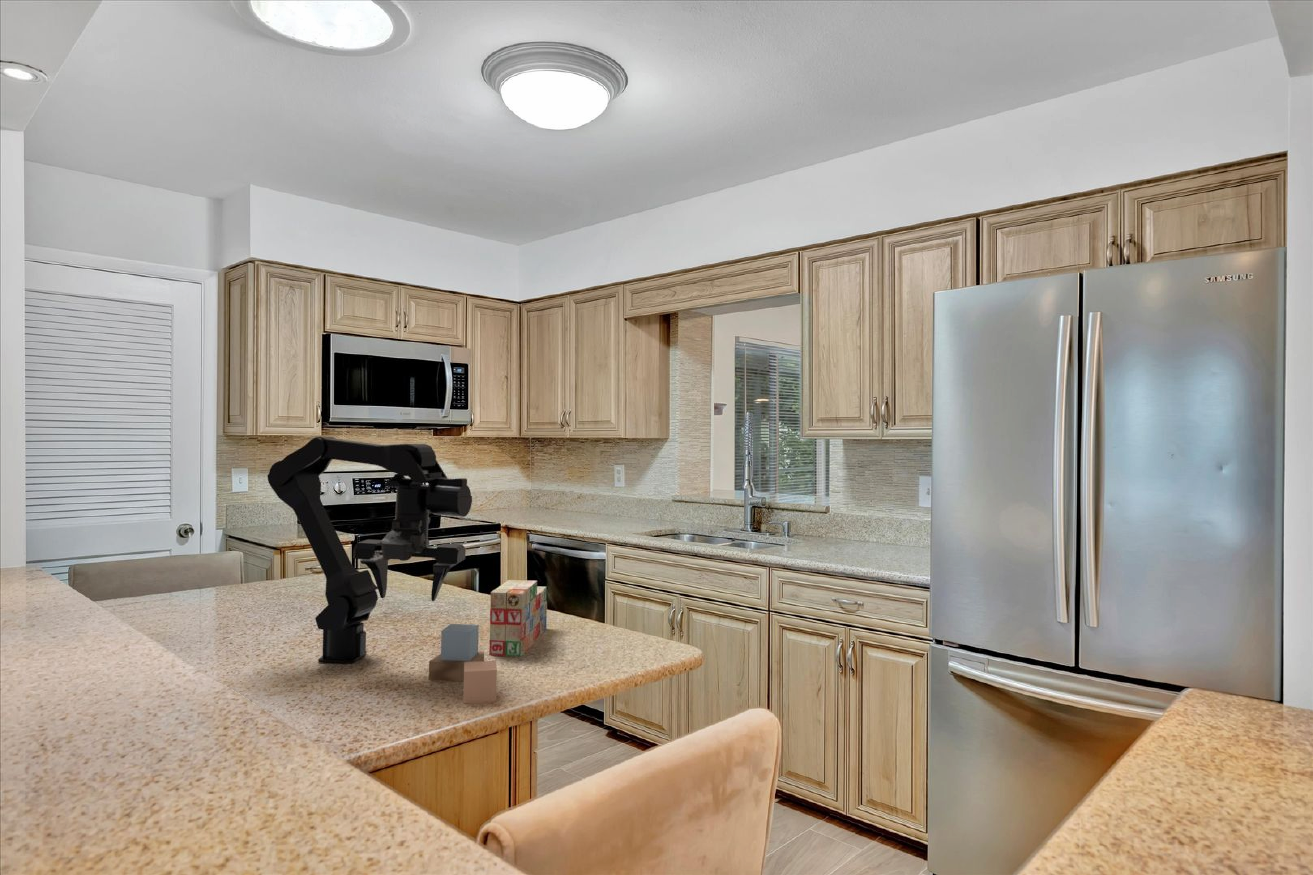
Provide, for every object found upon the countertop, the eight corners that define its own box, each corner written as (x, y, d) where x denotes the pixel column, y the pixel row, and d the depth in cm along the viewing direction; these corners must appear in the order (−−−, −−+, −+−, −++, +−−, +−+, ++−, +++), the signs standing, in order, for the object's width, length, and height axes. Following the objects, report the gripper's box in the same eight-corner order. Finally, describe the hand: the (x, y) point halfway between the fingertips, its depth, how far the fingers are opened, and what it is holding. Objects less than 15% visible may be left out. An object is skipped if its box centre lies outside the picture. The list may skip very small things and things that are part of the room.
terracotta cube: (463, 703, 117) (464, 671, 117) (463, 692, 122) (464, 662, 122) (496, 701, 118) (496, 669, 118) (495, 691, 123) (495, 660, 123)
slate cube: (450, 652, 133) (450, 623, 133) (478, 652, 133) (478, 624, 133) (440, 660, 128) (441, 630, 128) (469, 661, 128) (470, 631, 128)
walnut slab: (428, 681, 128) (429, 660, 128) (446, 669, 135) (447, 649, 135) (467, 684, 126) (468, 663, 126) (483, 672, 133) (484, 652, 133)
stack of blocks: (518, 627, 164) (519, 571, 164) (546, 629, 163) (548, 572, 163) (488, 655, 143) (490, 591, 143) (521, 657, 142) (522, 592, 142)
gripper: (341, 515, 128) (337, 606, 128) (449, 520, 127) (445, 612, 127) (368, 508, 139) (364, 592, 139) (468, 513, 139) (464, 598, 139)
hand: (408, 599), depth 136 cm, fingers open, 9 cm apart
